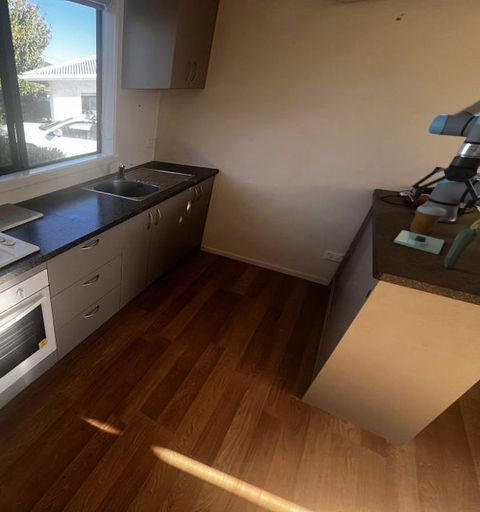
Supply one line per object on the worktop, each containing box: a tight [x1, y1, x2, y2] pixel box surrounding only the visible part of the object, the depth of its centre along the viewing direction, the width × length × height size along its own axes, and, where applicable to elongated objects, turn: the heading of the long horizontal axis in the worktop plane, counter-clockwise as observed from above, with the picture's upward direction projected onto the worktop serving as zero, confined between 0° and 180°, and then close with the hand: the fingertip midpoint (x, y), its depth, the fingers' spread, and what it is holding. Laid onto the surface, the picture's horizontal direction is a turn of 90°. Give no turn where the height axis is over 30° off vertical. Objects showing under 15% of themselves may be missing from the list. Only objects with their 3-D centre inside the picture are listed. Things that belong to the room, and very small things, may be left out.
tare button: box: [415, 236, 426, 242], centre depth 124 cm, size 3×3×2 cm
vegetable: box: [443, 217, 480, 269], centre depth 105 cm, size 4×4×20 cm
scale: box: [393, 229, 445, 255], centre depth 128 cm, size 18×14×3 cm
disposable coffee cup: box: [409, 204, 446, 235], centre depth 137 cm, size 10×10×12 cm
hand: (435, 210), depth 118 cm, fingers open, 13 cm apart
